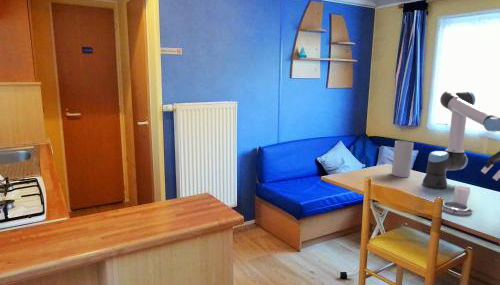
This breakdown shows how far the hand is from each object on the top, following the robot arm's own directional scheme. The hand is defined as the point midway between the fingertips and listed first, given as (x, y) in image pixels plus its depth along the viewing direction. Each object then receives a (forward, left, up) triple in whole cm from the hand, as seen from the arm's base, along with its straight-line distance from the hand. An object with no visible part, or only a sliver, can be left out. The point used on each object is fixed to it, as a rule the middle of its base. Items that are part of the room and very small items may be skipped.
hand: (488, 175), depth 207 cm
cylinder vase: (-62, +15, -18) cm, 66 cm away
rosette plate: (-6, -23, -18) cm, 30 cm away
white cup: (-9, -10, -18) cm, 23 cm away
